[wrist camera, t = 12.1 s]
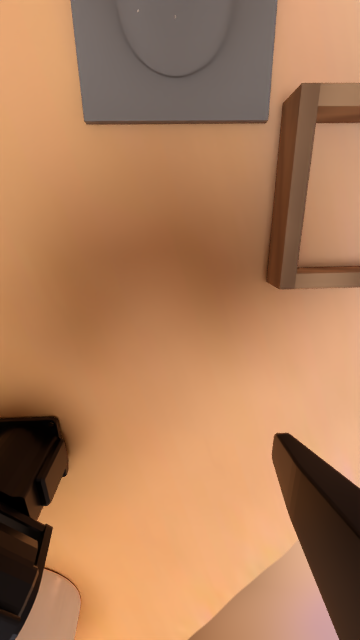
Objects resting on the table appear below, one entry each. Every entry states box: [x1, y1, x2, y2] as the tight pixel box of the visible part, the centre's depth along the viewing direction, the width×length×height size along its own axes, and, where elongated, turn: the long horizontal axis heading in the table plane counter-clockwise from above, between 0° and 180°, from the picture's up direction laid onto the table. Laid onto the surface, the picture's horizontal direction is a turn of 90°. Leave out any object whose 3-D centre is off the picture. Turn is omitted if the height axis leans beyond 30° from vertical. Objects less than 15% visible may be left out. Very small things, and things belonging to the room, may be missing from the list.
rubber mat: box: [71, 0, 277, 124], centre depth 14 cm, size 11×11×1 cm
